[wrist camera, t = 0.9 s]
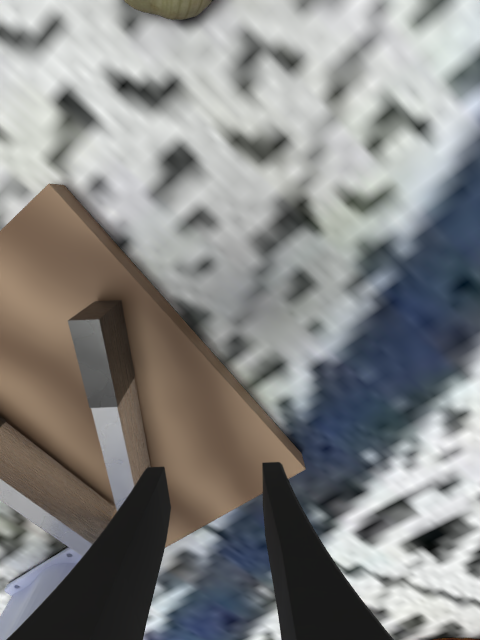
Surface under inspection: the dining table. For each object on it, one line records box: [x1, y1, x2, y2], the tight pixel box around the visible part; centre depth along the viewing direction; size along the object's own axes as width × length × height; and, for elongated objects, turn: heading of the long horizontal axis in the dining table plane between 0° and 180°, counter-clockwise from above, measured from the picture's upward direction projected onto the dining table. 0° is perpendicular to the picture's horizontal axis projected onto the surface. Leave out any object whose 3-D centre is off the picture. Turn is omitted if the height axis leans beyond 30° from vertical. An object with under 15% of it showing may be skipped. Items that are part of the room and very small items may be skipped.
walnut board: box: [0, 184, 306, 547], centre depth 22 cm, size 18×24×2 cm
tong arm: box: [68, 300, 151, 511], centre depth 19 cm, size 19×3×3 cm, turn 2°
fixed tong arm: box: [0, 416, 115, 557], centre depth 20 cm, size 15×2×3 cm, turn 37°
